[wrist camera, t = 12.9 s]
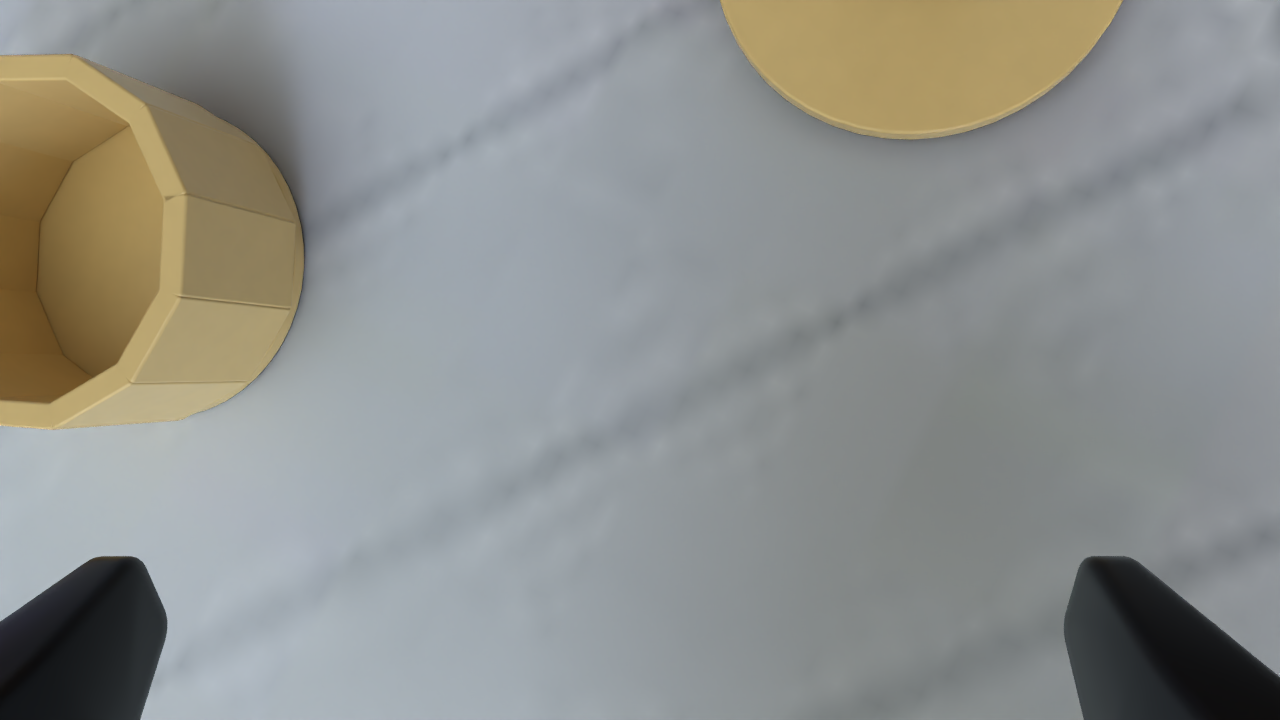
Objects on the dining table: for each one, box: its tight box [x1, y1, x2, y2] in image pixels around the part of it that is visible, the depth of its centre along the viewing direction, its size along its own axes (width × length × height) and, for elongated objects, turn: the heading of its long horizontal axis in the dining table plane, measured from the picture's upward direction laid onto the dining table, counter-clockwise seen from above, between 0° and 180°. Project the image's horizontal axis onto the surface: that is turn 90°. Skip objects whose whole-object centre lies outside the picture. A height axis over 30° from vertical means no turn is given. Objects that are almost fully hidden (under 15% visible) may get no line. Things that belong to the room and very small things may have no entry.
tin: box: [0, 54, 304, 430], centre depth 20 cm, size 7×7×4 cm
